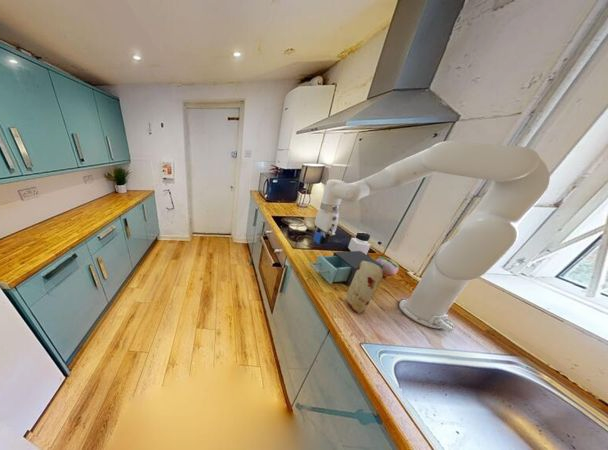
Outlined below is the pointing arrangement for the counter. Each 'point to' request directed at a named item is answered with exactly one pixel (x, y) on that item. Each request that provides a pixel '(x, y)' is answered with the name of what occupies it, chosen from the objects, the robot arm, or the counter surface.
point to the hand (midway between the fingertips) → (320, 241)
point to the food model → (363, 285)
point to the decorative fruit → (388, 266)
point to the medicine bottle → (360, 243)
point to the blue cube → (318, 237)
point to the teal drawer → (332, 268)
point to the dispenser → (354, 261)
